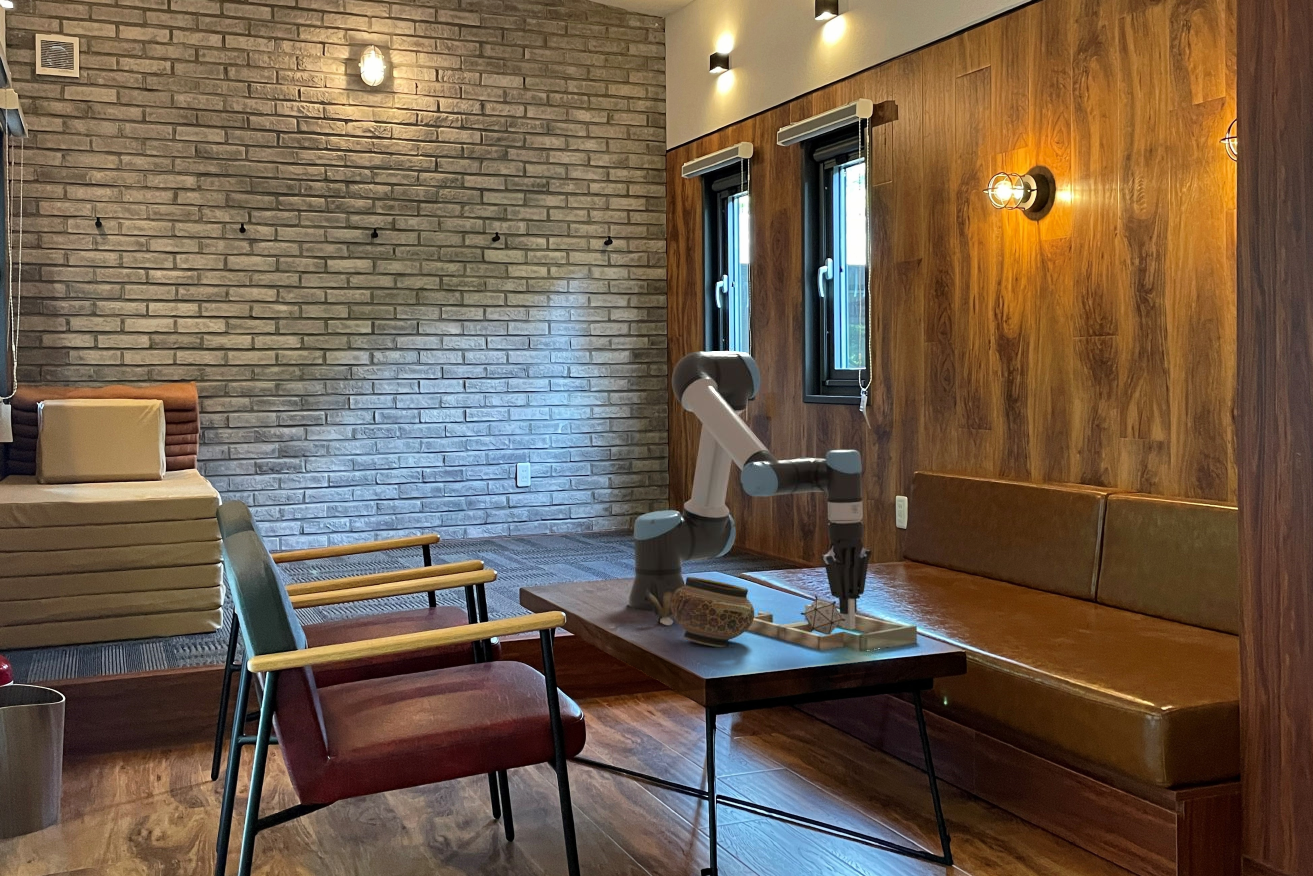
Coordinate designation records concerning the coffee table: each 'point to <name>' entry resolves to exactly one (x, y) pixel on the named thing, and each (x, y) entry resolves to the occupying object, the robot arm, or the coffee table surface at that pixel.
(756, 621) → the brown wall maze
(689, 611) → the ceramic bowl
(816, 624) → the game die
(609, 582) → the coffee table surface
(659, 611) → the tan upright piece
